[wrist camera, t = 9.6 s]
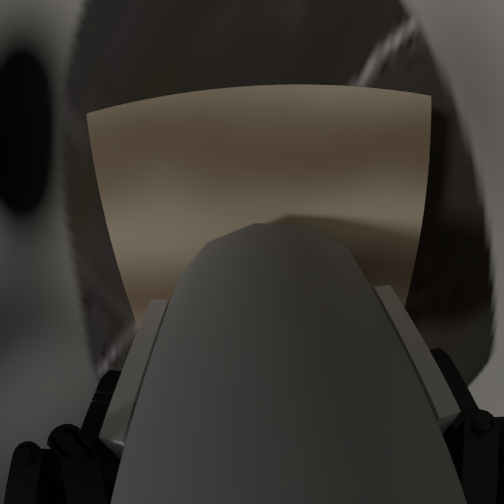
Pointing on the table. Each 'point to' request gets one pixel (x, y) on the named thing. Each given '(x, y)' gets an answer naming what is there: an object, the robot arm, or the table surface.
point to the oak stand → (262, 176)
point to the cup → (281, 386)
